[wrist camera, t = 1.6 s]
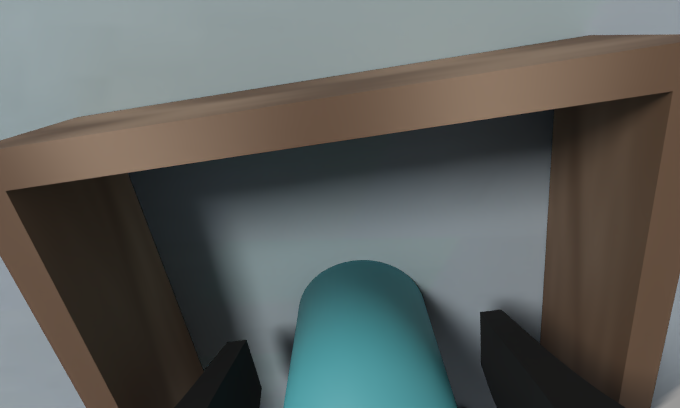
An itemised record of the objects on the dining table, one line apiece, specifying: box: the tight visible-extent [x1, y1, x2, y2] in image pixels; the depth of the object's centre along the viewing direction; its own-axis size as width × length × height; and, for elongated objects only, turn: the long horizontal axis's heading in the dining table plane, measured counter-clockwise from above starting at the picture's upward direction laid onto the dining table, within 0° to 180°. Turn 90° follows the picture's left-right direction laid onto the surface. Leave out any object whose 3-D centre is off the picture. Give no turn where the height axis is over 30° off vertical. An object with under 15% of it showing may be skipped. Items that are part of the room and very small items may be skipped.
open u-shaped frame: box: [0, 35, 680, 408], centre depth 11 cm, size 14×13×4 cm
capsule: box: [284, 260, 457, 408], centre depth 11 cm, size 4×4×6 cm
